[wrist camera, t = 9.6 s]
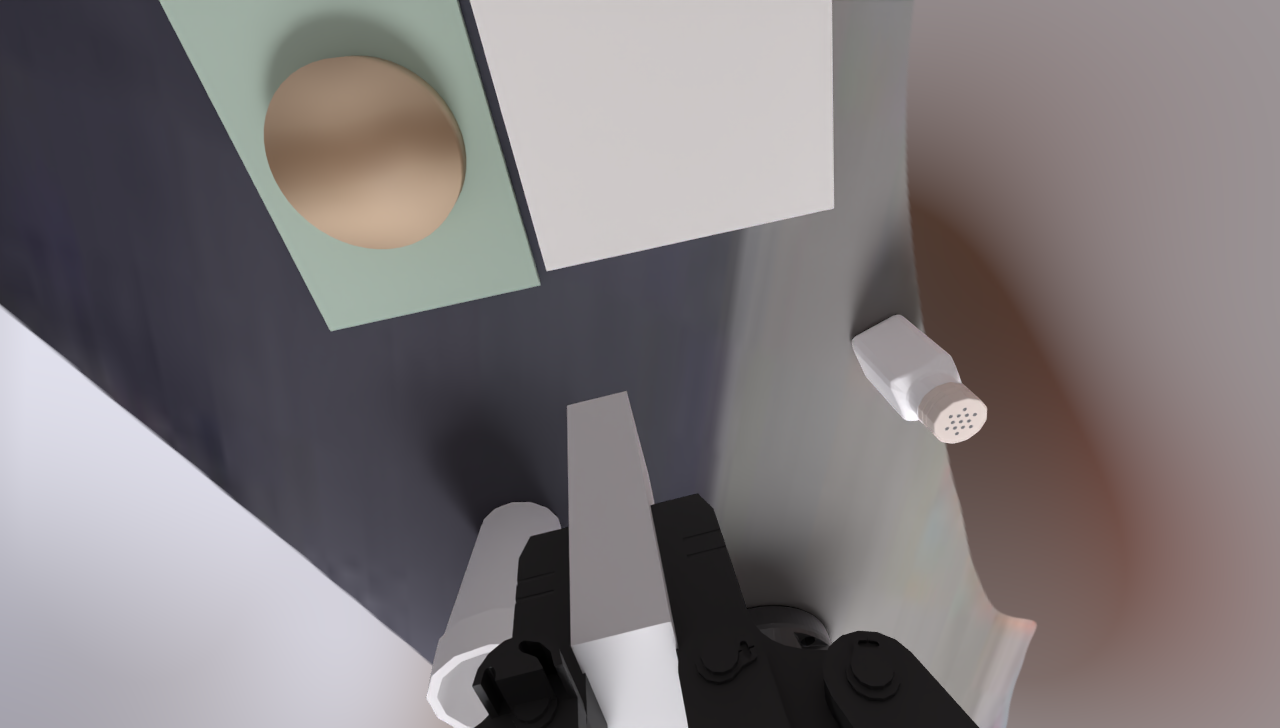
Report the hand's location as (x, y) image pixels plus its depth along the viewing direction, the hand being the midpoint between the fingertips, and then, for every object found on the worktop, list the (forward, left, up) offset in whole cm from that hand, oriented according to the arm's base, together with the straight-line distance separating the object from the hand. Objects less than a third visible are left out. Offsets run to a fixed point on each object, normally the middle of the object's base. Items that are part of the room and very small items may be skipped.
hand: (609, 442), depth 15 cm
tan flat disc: (+5, +10, -22) cm, 24 cm away
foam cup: (-24, +10, -23) cm, 34 cm away
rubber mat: (+5, +10, -22) cm, 25 cm away
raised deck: (+5, -6, -22) cm, 24 cm away
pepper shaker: (-14, -19, -23) cm, 32 cm away
